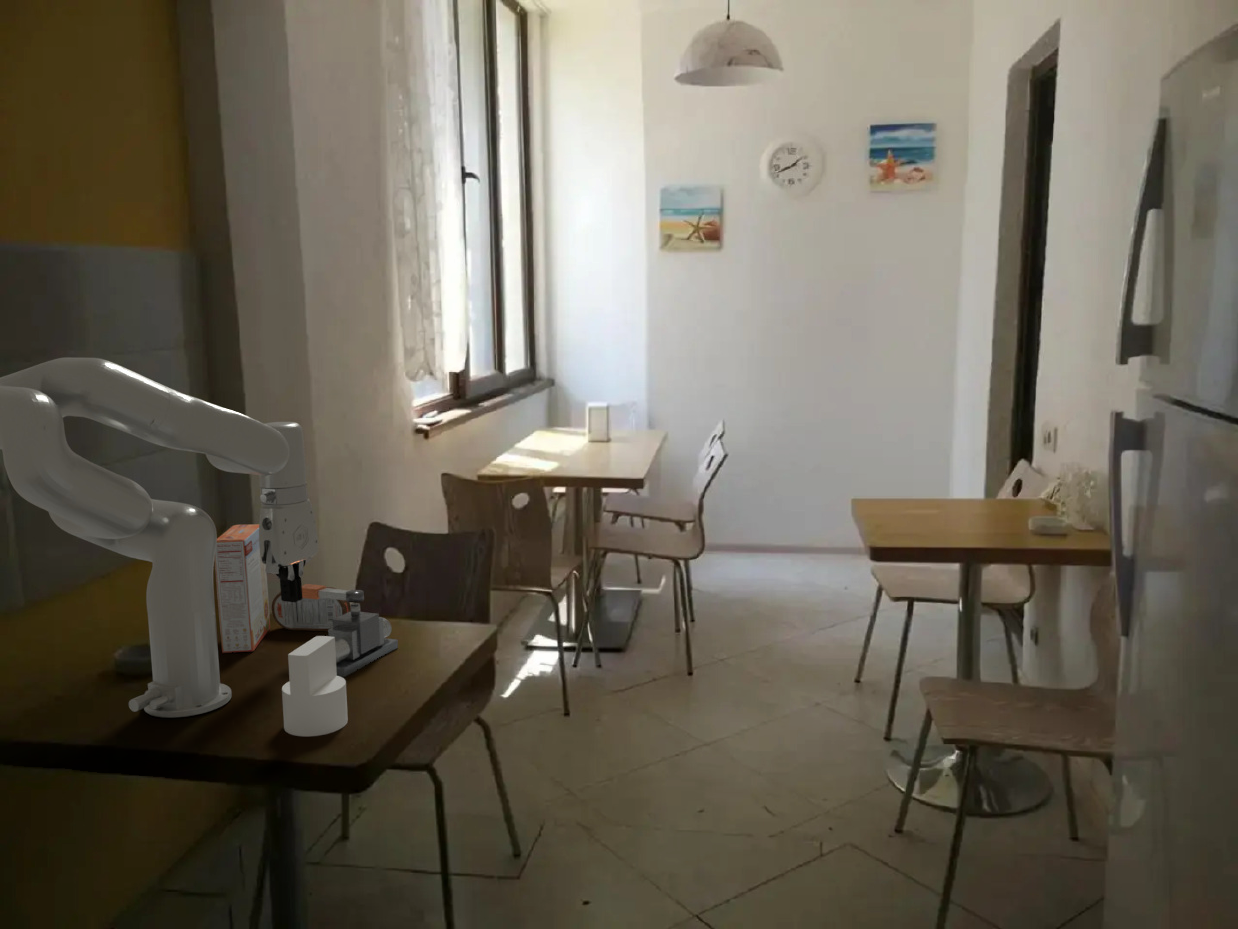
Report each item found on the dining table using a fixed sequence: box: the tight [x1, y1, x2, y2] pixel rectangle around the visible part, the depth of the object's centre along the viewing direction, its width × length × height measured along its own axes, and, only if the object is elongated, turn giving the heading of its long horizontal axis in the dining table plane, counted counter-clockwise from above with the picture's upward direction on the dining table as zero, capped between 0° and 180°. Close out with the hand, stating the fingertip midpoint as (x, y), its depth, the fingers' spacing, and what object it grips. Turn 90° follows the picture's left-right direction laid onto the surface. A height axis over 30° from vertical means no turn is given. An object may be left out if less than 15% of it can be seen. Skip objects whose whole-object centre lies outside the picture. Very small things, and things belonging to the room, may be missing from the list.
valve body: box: [327, 602, 399, 678], centre depth 176 cm, size 16×6×10 cm, turn 159°
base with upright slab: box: [281, 635, 349, 737], centre depth 148 cm, size 9×9×12 cm
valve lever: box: [302, 583, 365, 603], centre depth 177 cm, size 12×3×2 cm, turn 69°
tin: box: [271, 586, 351, 632], centre depth 194 cm, size 15×3×8 cm, turn 84°
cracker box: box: [214, 523, 271, 654], centre depth 186 cm, size 14×6×21 cm, turn 6°
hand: (292, 600), depth 173 cm, fingers closed
